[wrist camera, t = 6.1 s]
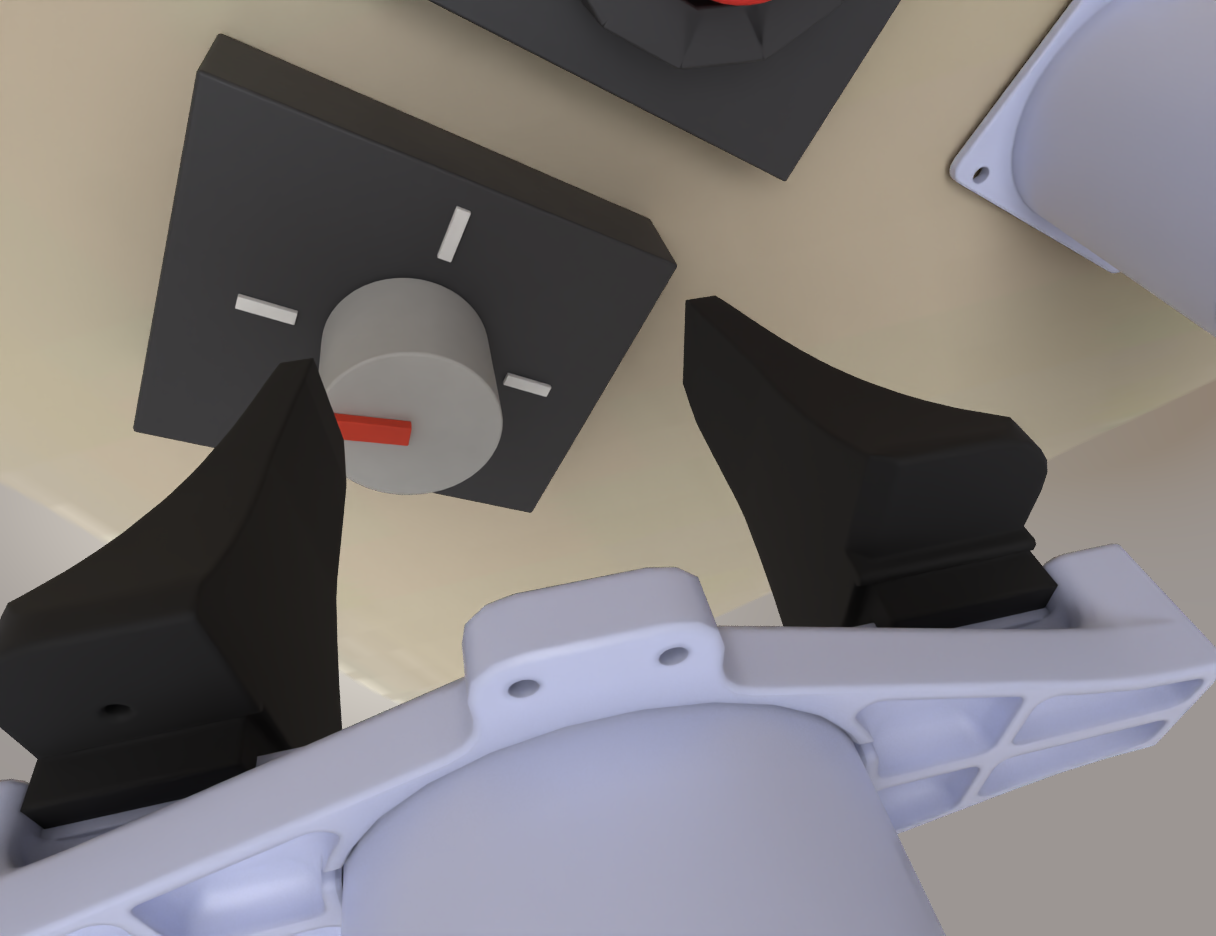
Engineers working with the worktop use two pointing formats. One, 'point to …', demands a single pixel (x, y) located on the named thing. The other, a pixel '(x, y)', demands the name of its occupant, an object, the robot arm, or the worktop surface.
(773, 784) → the robot arm
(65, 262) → the worktop surface
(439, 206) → the timer panel
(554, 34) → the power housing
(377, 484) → the timer dial
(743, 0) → the power button
